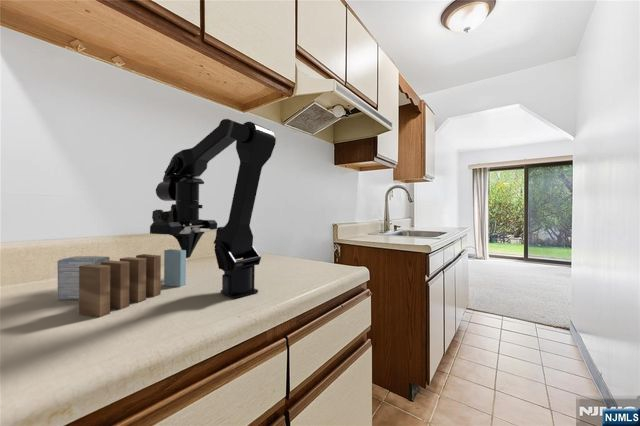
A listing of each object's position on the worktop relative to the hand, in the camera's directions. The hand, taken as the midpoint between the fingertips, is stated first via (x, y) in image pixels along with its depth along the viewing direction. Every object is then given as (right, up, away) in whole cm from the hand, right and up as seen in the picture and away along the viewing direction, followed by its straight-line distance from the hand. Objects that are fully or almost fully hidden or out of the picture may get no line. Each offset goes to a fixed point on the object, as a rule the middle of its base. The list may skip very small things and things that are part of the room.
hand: (187, 257), depth 71 cm
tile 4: (-5, -7, -19) cm, 21 cm away
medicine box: (-16, -7, -14) cm, 22 cm away
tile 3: (-4, -7, -15) cm, 17 cm away
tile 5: (-6, -7, -23) cm, 24 cm away
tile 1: (-1, -6, -4) cm, 8 cm away
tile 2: (-3, -6, -12) cm, 14 cm away
